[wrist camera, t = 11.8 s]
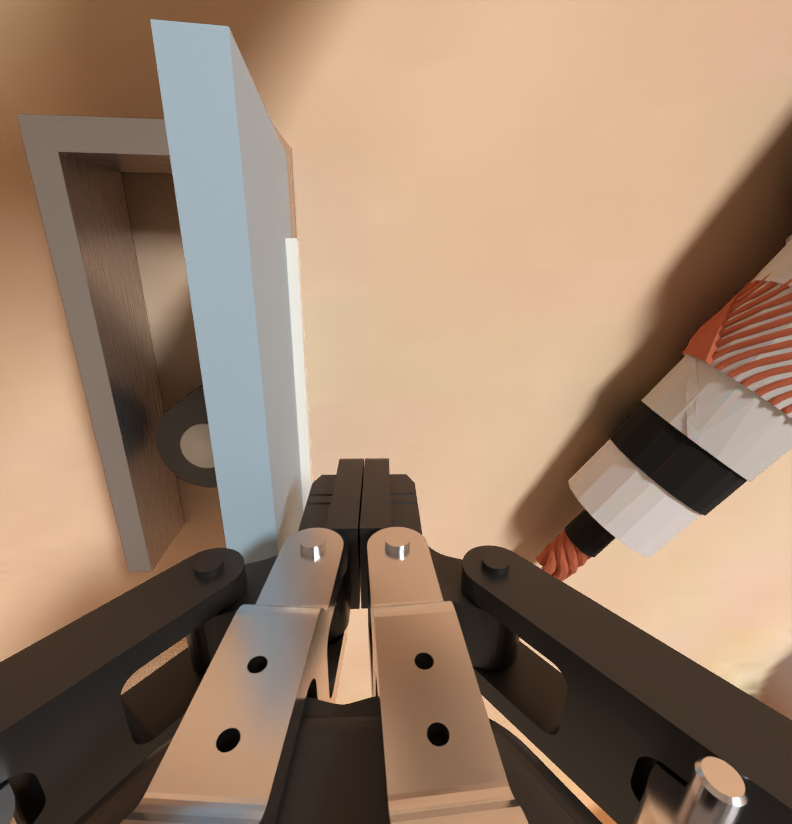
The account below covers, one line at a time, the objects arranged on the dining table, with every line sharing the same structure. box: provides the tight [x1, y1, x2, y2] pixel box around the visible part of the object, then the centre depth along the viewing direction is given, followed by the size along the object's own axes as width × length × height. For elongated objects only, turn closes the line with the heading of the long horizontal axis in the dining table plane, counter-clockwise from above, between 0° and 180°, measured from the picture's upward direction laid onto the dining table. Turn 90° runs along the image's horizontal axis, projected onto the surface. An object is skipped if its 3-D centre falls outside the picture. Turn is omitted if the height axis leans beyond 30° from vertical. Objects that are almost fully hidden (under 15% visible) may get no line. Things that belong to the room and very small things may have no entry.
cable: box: [536, 235, 792, 581], centre depth 22 cm, size 10×34×10 cm, turn 144°
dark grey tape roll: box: [156, 385, 218, 487], centre depth 24 cm, size 5×5×4 cm
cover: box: [150, 19, 313, 564], centre depth 15 cm, size 20×11×2 cm
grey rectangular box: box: [17, 114, 297, 572], centre depth 22 cm, size 21×9×4 cm, turn 179°
